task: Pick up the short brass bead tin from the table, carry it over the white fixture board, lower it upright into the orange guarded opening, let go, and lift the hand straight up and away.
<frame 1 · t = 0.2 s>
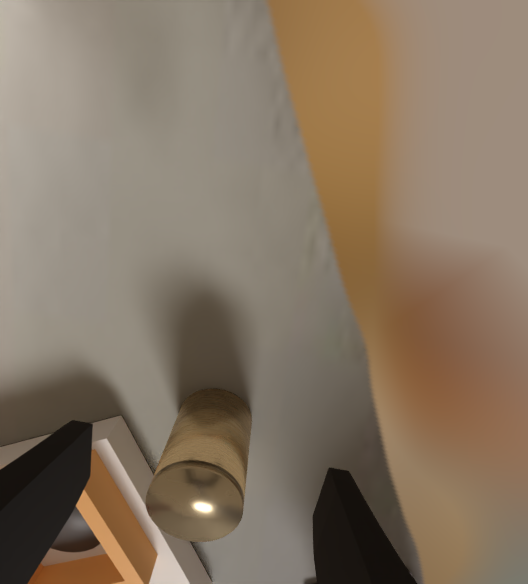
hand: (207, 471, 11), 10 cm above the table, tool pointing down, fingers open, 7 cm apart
bead tin: (215, 419, 22), on the table
white fixture board: (100, 523, 25), on the table
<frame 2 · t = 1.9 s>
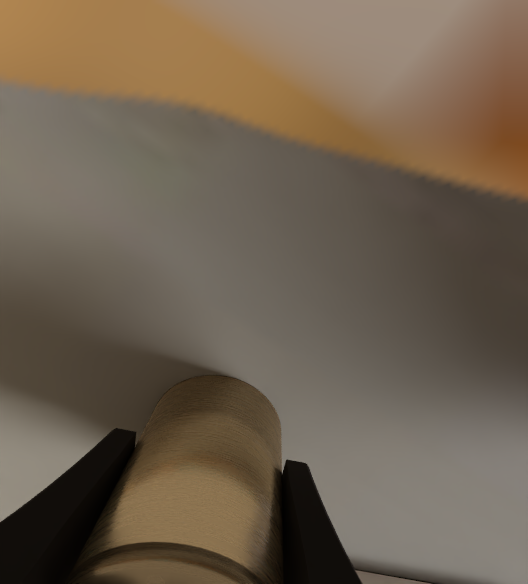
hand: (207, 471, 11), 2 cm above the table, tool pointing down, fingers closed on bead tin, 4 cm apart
bead tin: (216, 431, 12), on the table, touching gripper
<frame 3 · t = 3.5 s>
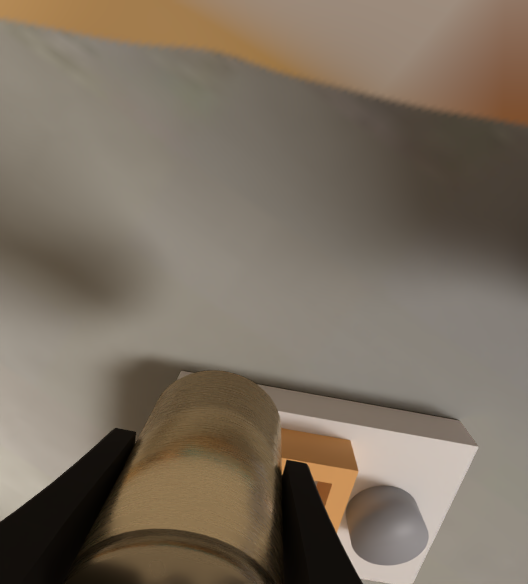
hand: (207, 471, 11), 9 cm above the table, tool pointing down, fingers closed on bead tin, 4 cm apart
bead tin: (216, 426, 12), point 7 cm above the table, touching gripper
white fixture board: (300, 470, 22), on the table
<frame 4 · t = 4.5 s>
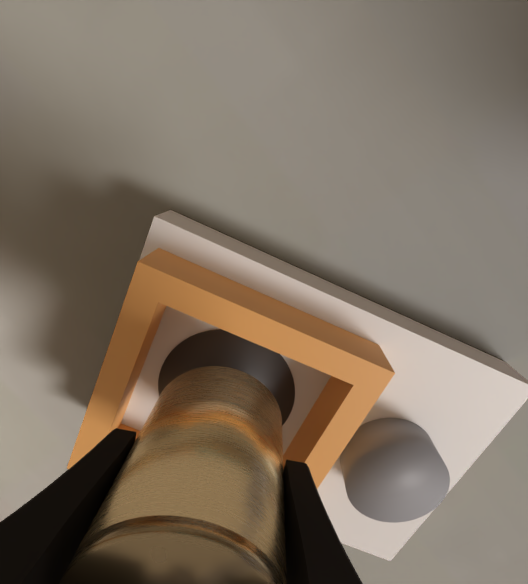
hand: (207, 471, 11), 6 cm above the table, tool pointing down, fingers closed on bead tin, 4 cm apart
bead tin: (218, 423, 12), point 4 cm above the table, touching gripper
white fixture board: (290, 389, 17), on the table
when the fingers open (5 cm above the table, at t = 5.1 s): bead tin drops 1 cm, resting on white fixture board.
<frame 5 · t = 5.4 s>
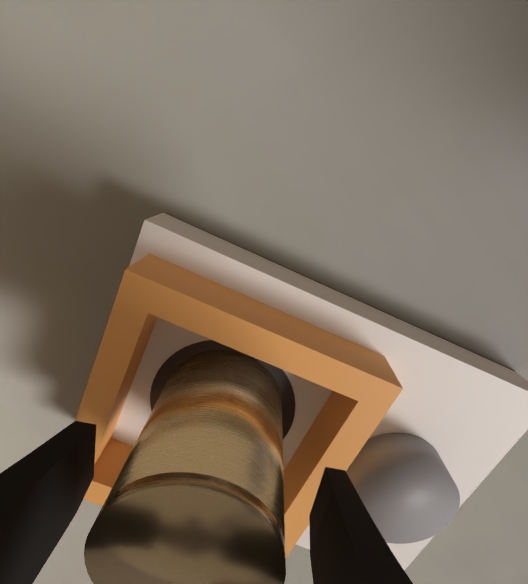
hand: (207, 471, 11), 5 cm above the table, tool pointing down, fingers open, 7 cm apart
bead tin: (223, 402, 14), point 2 cm above the table, touching white fixture board
white fixture board: (290, 401, 16), on the table
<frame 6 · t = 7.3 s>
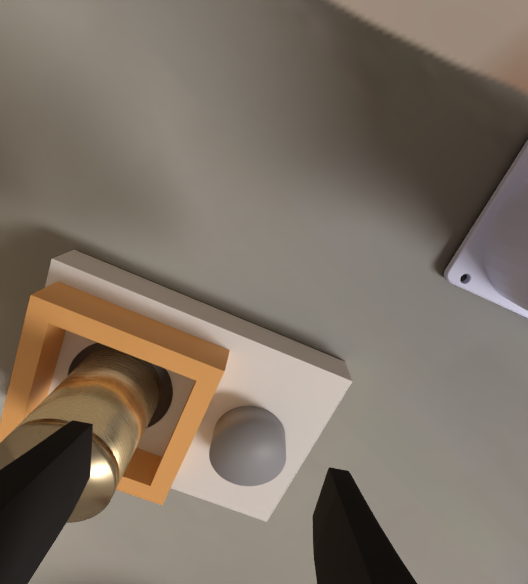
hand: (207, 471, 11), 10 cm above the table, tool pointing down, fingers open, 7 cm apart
bead tin: (119, 385, 19), point 2 cm above the table, touching white fixture board
white fixture board: (182, 386, 21), on the table
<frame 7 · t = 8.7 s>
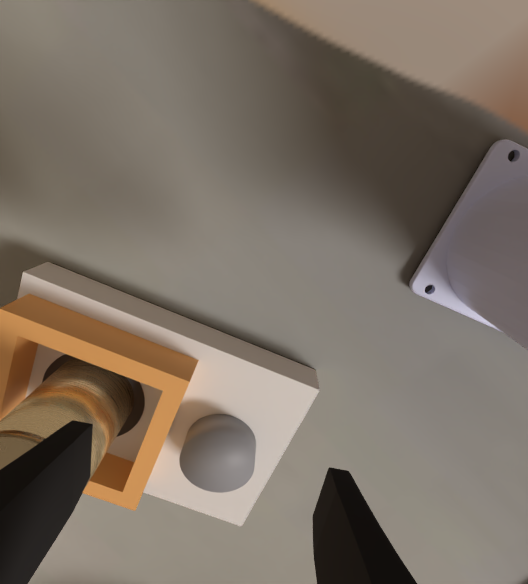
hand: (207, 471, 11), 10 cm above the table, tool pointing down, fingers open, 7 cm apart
bead tin: (93, 394, 19), point 2 cm above the table, touching white fixture board
white fixture board: (157, 393, 22), on the table
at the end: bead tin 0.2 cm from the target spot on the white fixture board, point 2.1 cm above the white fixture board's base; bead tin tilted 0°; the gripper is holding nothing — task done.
